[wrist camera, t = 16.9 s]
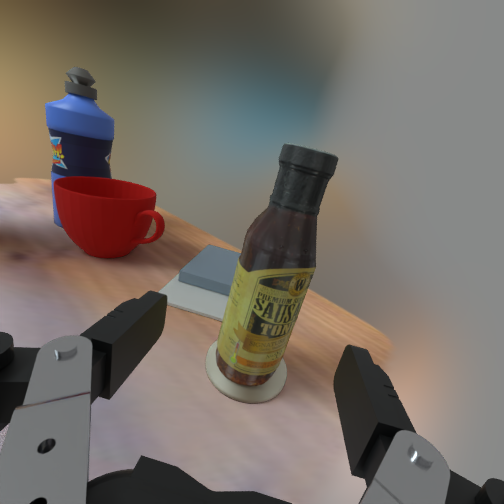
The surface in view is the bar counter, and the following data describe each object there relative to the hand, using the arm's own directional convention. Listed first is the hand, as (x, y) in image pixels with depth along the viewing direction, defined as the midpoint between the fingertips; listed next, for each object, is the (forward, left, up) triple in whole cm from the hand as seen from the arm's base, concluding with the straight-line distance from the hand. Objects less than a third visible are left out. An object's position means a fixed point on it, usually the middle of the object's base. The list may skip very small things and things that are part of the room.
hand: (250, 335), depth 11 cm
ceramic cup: (-9, +33, -12) cm, 36 cm away
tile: (+4, +22, -11) cm, 25 cm away
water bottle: (-16, +46, -12) cm, 50 cm away
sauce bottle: (+5, +9, -12) cm, 16 cm away
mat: (+5, +24, -12) cm, 27 cm away
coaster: (+5, +9, -12) cm, 16 cm away
